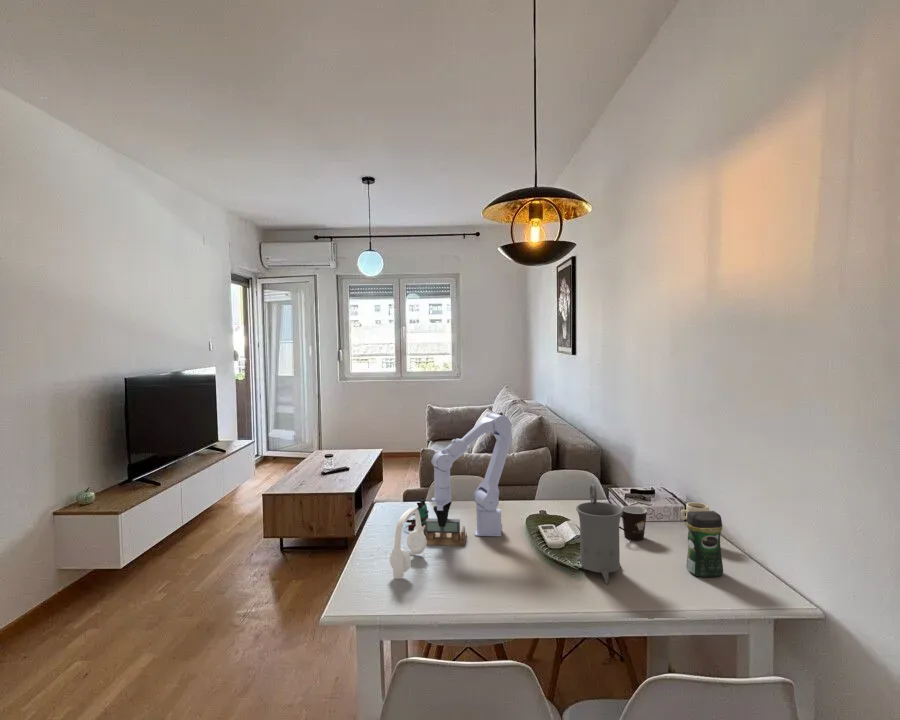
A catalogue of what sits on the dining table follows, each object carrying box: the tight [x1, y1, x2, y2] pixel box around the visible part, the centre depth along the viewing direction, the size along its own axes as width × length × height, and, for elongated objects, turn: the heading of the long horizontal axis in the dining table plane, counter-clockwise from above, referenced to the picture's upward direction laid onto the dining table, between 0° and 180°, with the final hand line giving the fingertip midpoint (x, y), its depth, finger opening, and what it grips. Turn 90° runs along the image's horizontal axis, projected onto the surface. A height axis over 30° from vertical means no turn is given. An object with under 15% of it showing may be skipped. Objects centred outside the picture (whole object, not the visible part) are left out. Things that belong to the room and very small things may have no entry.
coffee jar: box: [686, 510, 724, 578], centre depth 159 cm, size 10×8×19 cm
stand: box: [423, 525, 468, 547], centre depth 189 cm, size 16×10×4 cm, turn 83°
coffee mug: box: [619, 505, 648, 542], centre depth 187 cm, size 12×9×10 cm
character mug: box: [680, 501, 710, 541], centre depth 182 cm, size 11×7×13 cm, turn 81°
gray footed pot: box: [575, 483, 623, 585], centre depth 161 cm, size 19×15×25 cm
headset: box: [389, 507, 427, 580], centre depth 166 cm, size 20×7×18 cm, turn 164°
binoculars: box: [405, 497, 429, 530], centre depth 202 cm, size 9×11×10 cm
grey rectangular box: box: [426, 517, 461, 533], centre depth 188 cm, size 12×3×4 cm, turn 83°
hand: (443, 524), depth 188 cm, fingers open, 4 cm apart
